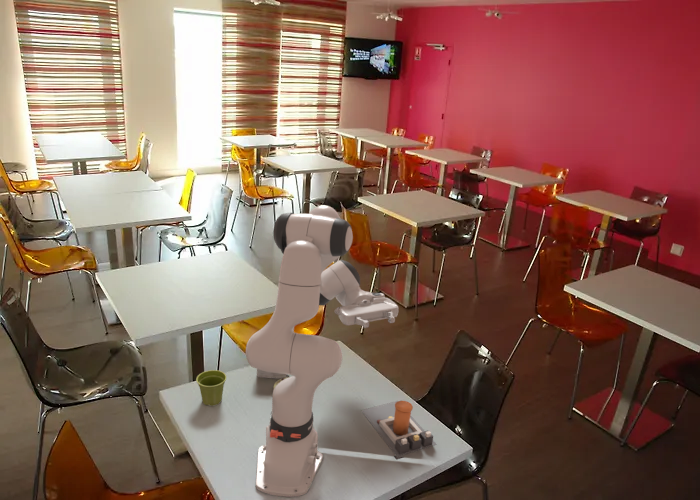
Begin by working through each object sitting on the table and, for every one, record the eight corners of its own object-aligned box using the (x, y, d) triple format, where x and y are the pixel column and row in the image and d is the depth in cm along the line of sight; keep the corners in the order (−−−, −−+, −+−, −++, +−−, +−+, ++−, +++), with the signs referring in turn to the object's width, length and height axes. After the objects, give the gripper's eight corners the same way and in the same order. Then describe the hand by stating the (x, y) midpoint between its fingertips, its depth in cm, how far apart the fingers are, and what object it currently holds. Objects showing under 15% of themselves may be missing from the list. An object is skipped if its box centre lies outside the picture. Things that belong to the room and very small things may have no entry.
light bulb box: (288, 369, 195) (289, 343, 191) (286, 379, 189) (287, 353, 185) (259, 367, 195) (259, 341, 191) (256, 377, 189) (256, 351, 185)
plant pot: (192, 398, 175) (191, 375, 172) (218, 388, 181) (218, 366, 178) (205, 413, 168) (204, 389, 166) (231, 402, 174) (231, 380, 171)
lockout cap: (409, 436, 163) (413, 412, 160) (392, 435, 163) (395, 410, 160) (408, 425, 168) (411, 401, 165) (391, 424, 168) (394, 400, 165)
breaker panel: (436, 447, 161) (438, 433, 159) (396, 459, 155) (398, 445, 153) (397, 403, 180) (398, 390, 178) (360, 412, 174) (361, 399, 172)
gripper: (332, 300, 175) (351, 319, 164) (386, 292, 184) (407, 309, 173) (331, 317, 177) (350, 337, 166) (385, 308, 186) (405, 326, 175)
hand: (380, 323), depth 169 cm, fingers open, 8 cm apart
